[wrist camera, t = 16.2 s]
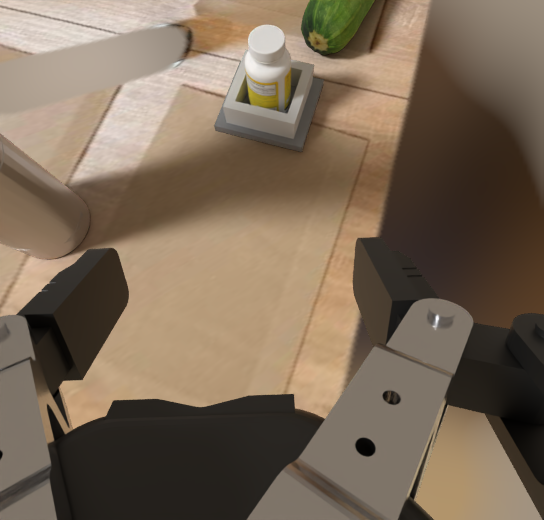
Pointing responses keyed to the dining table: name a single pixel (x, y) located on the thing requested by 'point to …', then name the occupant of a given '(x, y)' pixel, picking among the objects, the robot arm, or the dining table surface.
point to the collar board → (269, 123)
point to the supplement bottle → (268, 69)
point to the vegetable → (332, 23)
